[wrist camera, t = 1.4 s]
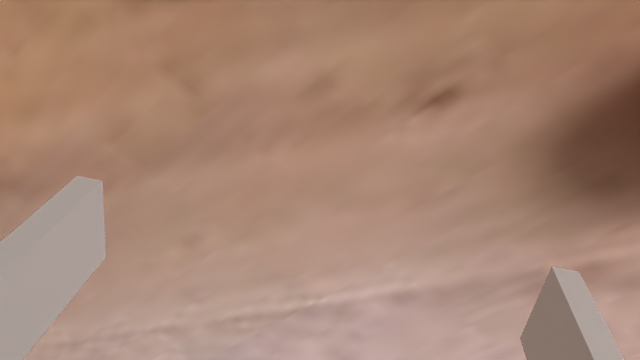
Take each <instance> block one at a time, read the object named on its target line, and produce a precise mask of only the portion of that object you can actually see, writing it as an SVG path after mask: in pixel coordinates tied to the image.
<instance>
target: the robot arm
mask: <svg viewBox="0 0 640 360" xmlns="http://www.w3.org/2000/svg"><path fill="white" fill-rule="evenodd" d="M105 258H106V245H105V223H104V202H103V181H102V180H97V179H91V178H86V177H81V176H76V177H75V178H74V179H73V180H72V181H70V182H69V183H68V184H67V185H66V186H65V187H63V188H62V189H61V190H60V191H59V192H58V193H57V194H55V195H54V196H53V197H52V198H51V199H50V200H48V201H47V202H46V203H45V204H44V205H43V206H41V207H40V208H39V209H38V210H37V211H36V212H34V213H33V214H32V215H31V216H30V217H29V218H28V219H26V220H25V221H24V222H23V223H22V224H21V225H19V226H18V227H17V228H16V229H15V230H14V231H12V232H11V233H10V234H9V235H8V236H7V237H6V238H4V239H3V240H2V241H1V242H0V360H23V359H24V358H25V357H26V355H27V354H28V353H29V352H30V350H31V349H32V348H33V347H34V346H35V344H36V343H37V342H38V341H39V339H40V338H41V337H42V336H43V334H44V333H45V332H46V331H47V329H48V328H49V327H50V326H51V324H52V323H53V322H54V321H55V320H56V318H57V317H58V316H59V315H60V313H61V312H62V311H63V310H64V308H65V307H66V306H67V305H68V303H69V302H70V301H71V300H72V298H73V297H74V296H75V295H76V294H77V292H78V291H79V290H80V289H81V287H82V286H83V285H84V284H85V282H86V281H87V280H88V279H89V277H90V276H91V275H92V274H93V272H94V271H95V270H96V269H97V268H98V266H99V265H100V264H101V263H102V261H103V260H104V259H105ZM520 339H521V342H522V345H523V349H524V352H525V355H526V358H527V360H624V358H623V356H622V354H621V352H620V350H619V348H618V346H617V344H616V342H615V340H614V338H613V336H612V335H611V333H610V331H609V329H608V327H607V325H606V323H605V321H604V319H603V317H602V315H601V313H600V311H599V310H598V308H597V306H596V304H595V302H594V300H593V298H592V296H591V294H590V292H589V290H588V288H587V286H586V285H585V283H584V281H583V279H582V277H581V275H580V273H579V272H578V271H573V270H568V269H563V268H557V267H551V269H550V272H549V274H548V276H547V278H546V281H545V283H544V285H543V287H542V290H541V292H540V294H539V297H538V299H537V301H536V303H535V306H534V308H533V310H532V312H531V315H530V317H529V319H528V322H527V324H526V326H525V328H524V331H523V333H522V335H521V337H520Z"/></svg>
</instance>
